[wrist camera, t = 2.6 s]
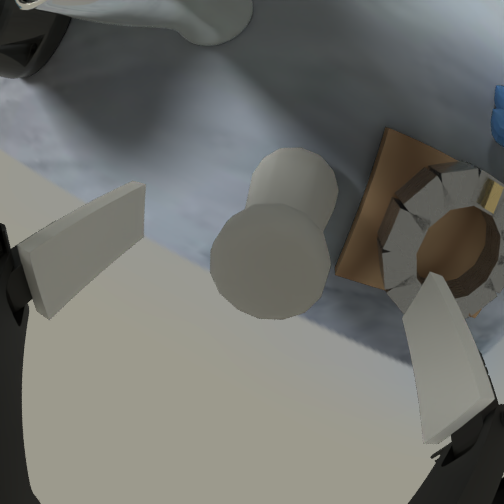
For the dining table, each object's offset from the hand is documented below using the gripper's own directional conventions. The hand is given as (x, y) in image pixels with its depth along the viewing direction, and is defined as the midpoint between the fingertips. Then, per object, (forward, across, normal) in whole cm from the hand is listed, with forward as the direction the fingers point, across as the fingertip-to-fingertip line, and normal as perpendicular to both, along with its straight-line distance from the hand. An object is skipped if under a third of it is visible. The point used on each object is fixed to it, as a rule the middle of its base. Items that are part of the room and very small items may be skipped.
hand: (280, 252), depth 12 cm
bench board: (+10, +13, 0) cm, 16 cm away
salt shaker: (+10, 0, 0) cm, 10 cm away
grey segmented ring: (+9, +13, 0) cm, 16 cm away
